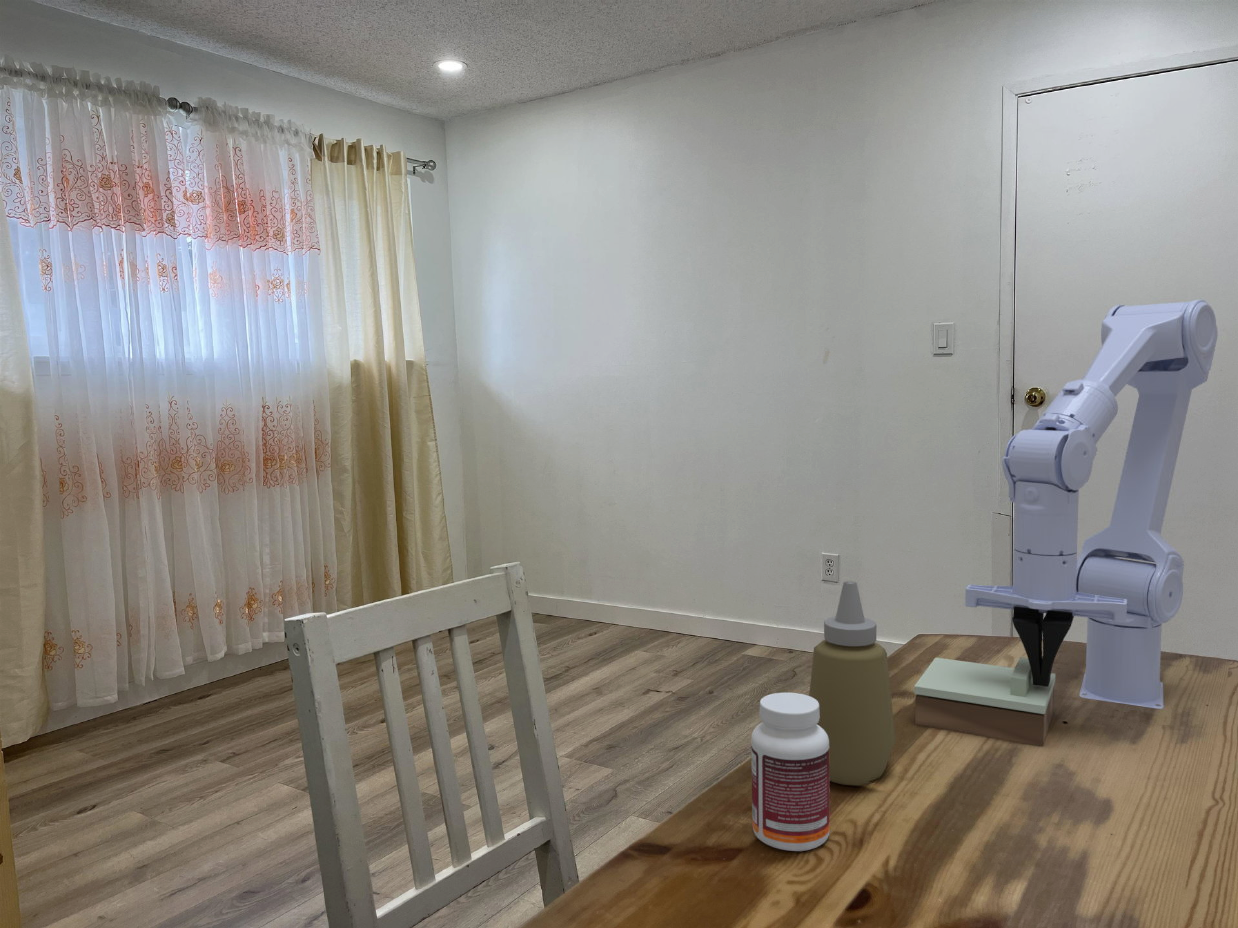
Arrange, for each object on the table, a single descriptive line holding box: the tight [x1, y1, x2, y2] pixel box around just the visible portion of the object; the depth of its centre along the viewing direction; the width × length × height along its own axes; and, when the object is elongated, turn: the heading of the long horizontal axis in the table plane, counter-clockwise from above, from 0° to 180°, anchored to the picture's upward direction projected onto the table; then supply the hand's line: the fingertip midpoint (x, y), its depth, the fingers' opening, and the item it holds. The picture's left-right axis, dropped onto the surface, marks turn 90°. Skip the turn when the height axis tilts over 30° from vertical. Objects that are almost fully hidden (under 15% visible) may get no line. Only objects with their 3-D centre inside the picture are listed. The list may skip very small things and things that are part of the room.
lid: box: [913, 657, 1057, 714], centre depth 94 cm, size 10×12×3 cm
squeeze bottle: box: [808, 581, 896, 786], centre depth 83 cm, size 8×8×18 cm
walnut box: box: [914, 686, 1055, 747], centre depth 95 cm, size 10×12×4 cm
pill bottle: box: [750, 692, 831, 852], centre depth 73 cm, size 6×6×11 cm
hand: (1041, 682), depth 92 cm, fingers closed
